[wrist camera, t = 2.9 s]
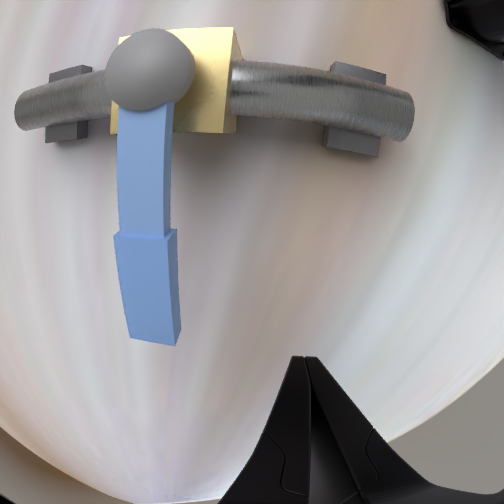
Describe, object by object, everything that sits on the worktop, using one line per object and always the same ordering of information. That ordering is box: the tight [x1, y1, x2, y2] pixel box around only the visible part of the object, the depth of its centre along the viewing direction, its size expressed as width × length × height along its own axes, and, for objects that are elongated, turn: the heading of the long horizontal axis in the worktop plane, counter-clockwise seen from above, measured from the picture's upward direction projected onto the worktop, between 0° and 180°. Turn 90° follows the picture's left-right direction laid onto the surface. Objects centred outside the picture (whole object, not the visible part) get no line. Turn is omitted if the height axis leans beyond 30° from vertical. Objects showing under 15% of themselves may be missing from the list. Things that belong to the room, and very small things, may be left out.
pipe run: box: [14, 28, 415, 157], centre depth 11 cm, size 22×5×6 cm, turn 85°
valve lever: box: [105, 29, 196, 346], centre depth 10 cm, size 12×3×1 cm, turn 175°
